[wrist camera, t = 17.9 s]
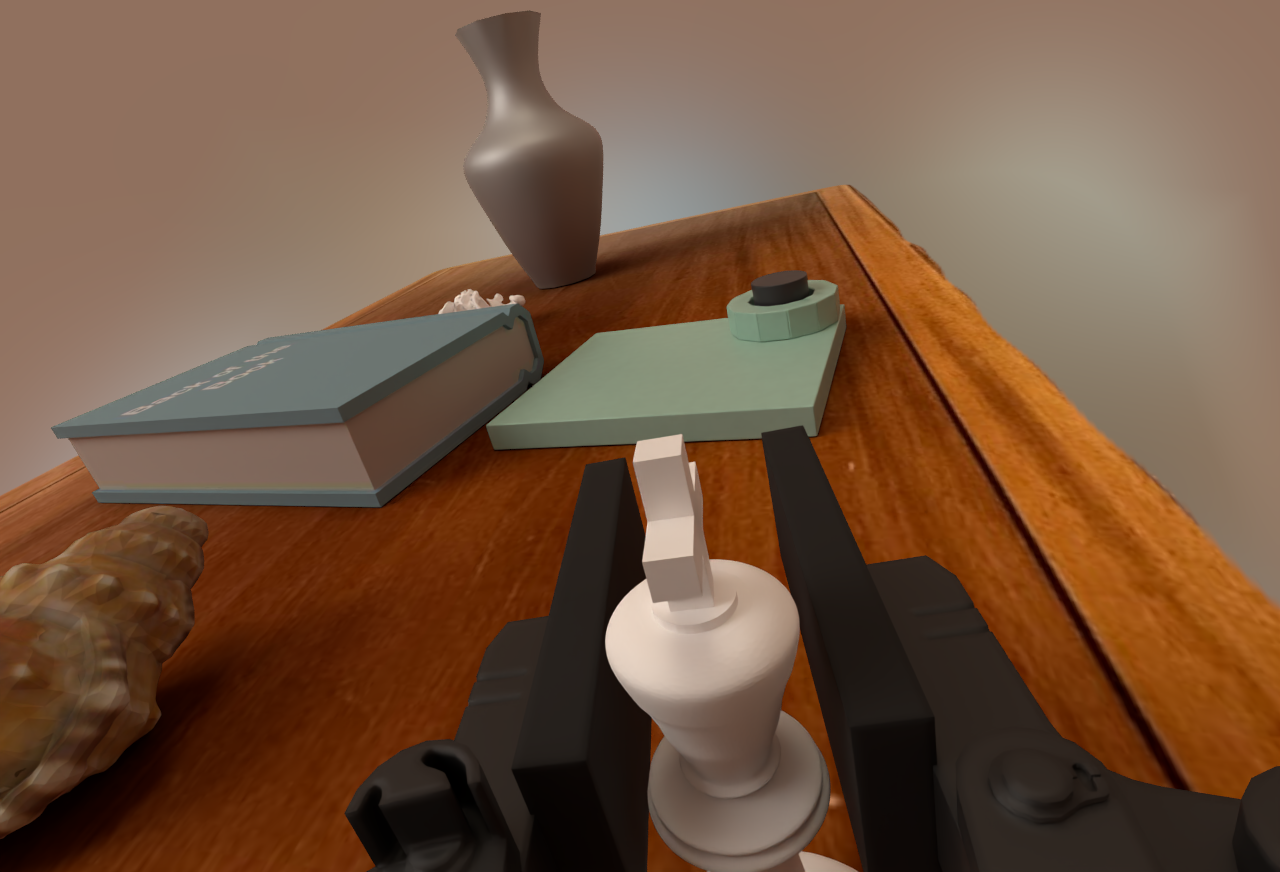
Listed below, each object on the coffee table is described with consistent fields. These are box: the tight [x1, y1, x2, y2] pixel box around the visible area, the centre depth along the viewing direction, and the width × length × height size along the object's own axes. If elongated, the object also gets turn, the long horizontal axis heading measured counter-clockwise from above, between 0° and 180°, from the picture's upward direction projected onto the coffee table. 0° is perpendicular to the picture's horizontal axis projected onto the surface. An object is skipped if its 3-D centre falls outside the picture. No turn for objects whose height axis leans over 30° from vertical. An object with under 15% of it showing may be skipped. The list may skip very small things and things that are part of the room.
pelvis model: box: [439, 289, 525, 314], centre depth 57 cm, size 8×4×7 cm
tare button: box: [751, 271, 810, 306], centre depth 37 cm, size 3×3×1 cm
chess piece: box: [605, 434, 858, 872], centre depth 8 cm, size 5×5×10 cm
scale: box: [486, 280, 846, 450], centre depth 36 cm, size 16×14×3 cm
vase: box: [455, 11, 603, 289], centre depth 69 cm, size 14×14×25 cm
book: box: [51, 303, 544, 507], centre depth 41 cm, size 23×16×5 cm
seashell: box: [0, 506, 208, 839], centre depth 18 cm, size 9×8×10 cm
